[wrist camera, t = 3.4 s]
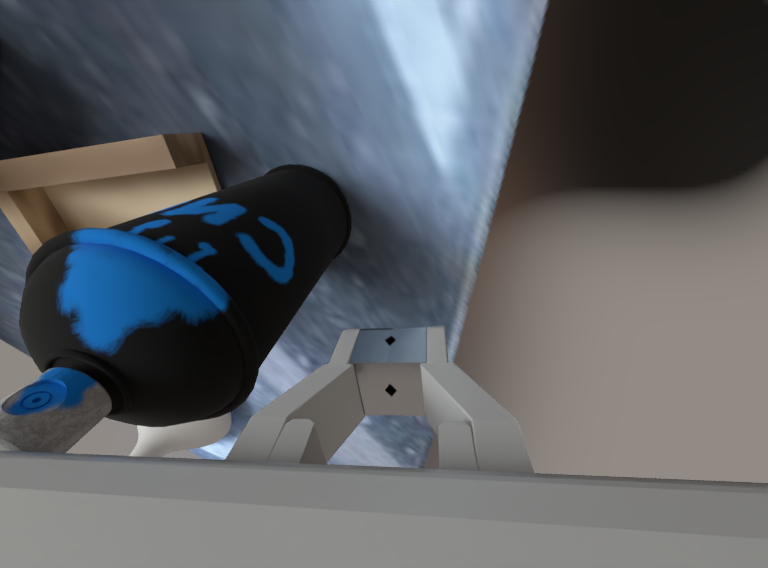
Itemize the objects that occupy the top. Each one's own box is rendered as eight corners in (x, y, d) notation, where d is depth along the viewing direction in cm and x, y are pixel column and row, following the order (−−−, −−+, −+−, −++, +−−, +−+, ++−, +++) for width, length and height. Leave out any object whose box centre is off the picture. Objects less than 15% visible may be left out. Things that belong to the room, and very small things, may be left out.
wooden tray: (18, 161, 25) (-44, 167, 22) (201, 132, 23) (162, 134, 19) (108, 305, 32) (71, 327, 28) (260, 297, 29) (238, 320, 25)
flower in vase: (233, 371, 34) (-116, 826, 12) (243, 436, 39) (15, 831, 17) (122, 350, 35) (-405, 748, 13) (147, 417, 40) (-192, 777, 18)
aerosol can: (338, 277, 27) (173, 571, 9) (247, 246, 26) (-103, 491, 9) (364, 186, 23) (165, 395, 5) (258, 147, 23) (-327, 238, 5)
